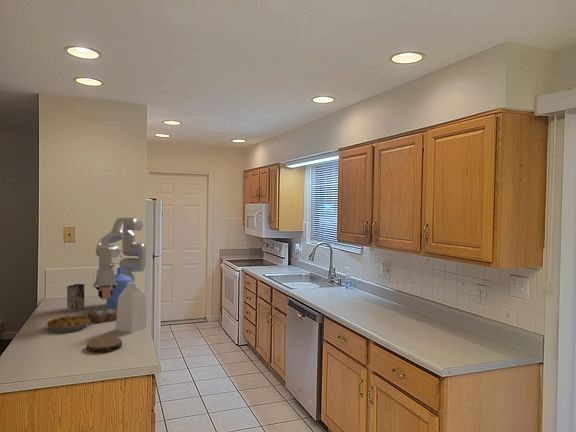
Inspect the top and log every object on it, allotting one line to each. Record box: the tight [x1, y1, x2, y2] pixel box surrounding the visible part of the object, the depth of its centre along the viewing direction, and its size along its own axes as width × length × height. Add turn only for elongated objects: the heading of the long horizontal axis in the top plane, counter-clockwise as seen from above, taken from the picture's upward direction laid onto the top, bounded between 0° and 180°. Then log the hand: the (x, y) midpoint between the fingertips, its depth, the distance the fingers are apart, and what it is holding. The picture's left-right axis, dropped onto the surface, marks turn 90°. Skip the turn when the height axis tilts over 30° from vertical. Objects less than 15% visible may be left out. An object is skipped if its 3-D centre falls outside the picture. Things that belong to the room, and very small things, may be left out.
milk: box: [115, 282, 148, 334], centre depth 248 cm, size 12×12×26 cm
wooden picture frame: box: [87, 308, 117, 324], centre depth 268 cm, size 16×14×4 cm
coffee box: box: [66, 283, 85, 312], centre depth 288 cm, size 9×6×16 cm
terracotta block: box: [100, 286, 111, 300], centre depth 267 cm, size 5×5×7 cm
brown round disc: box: [86, 336, 123, 354], centre depth 216 cm, size 16×16×3 cm
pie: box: [46, 315, 91, 333], centre depth 248 cm, size 22×22×5 cm
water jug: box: [105, 267, 132, 309], centre depth 288 cm, size 16×16×28 cm
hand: (105, 296), depth 267 cm, fingers closed on terracotta block, 5 cm apart
